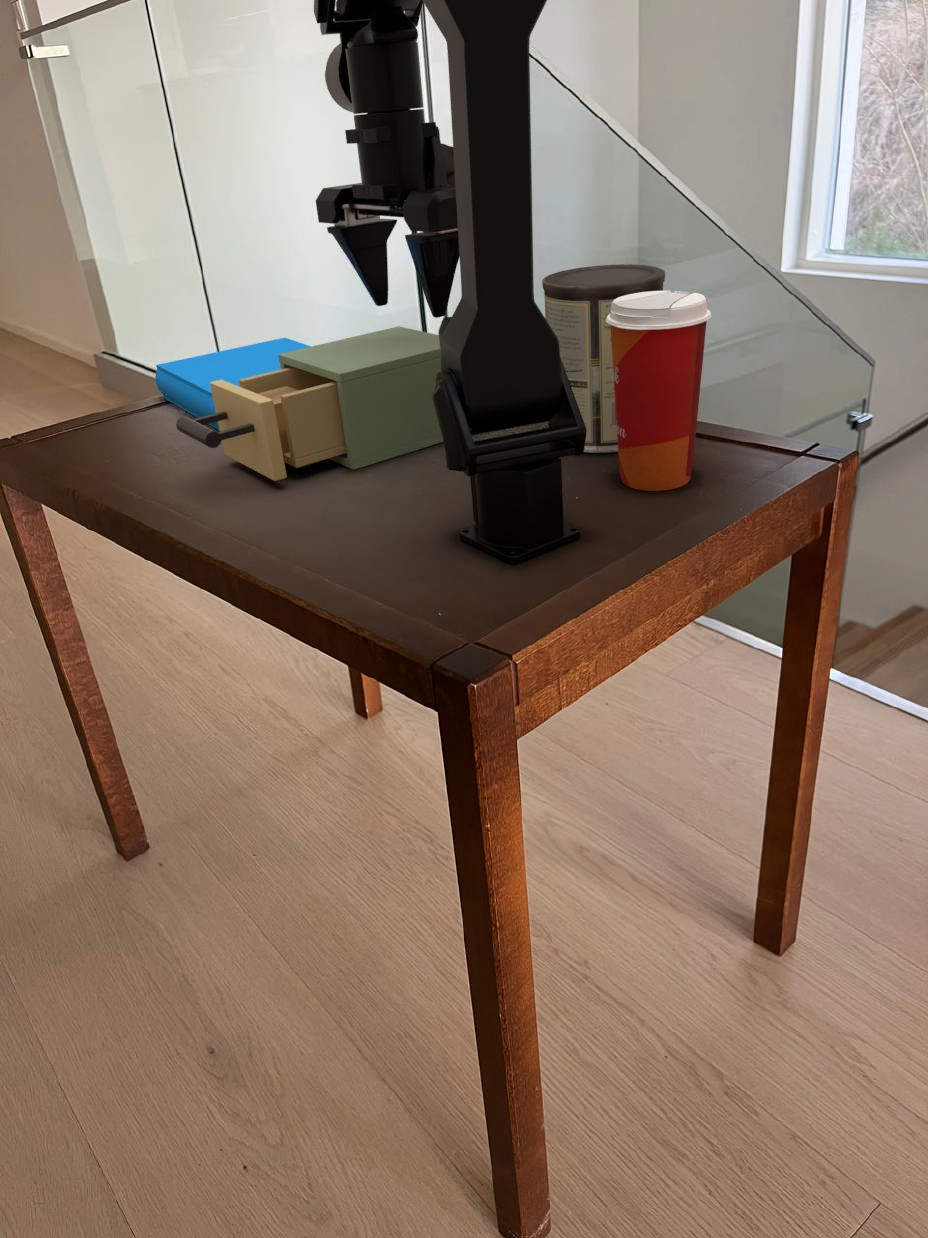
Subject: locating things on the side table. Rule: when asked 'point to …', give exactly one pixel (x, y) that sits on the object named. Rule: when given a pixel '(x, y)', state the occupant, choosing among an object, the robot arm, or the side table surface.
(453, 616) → the side table surface
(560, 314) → the coffee can
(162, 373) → the book
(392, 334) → the cabinet
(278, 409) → the block
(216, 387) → the drawer
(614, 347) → the paper cup
